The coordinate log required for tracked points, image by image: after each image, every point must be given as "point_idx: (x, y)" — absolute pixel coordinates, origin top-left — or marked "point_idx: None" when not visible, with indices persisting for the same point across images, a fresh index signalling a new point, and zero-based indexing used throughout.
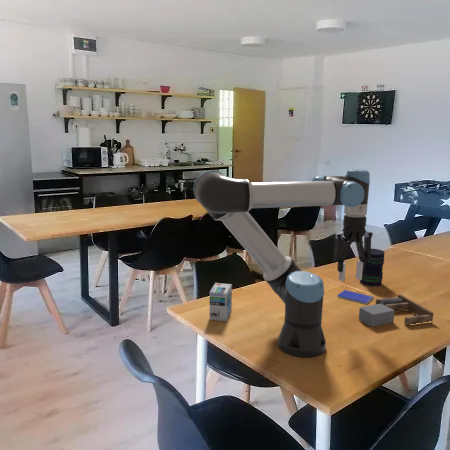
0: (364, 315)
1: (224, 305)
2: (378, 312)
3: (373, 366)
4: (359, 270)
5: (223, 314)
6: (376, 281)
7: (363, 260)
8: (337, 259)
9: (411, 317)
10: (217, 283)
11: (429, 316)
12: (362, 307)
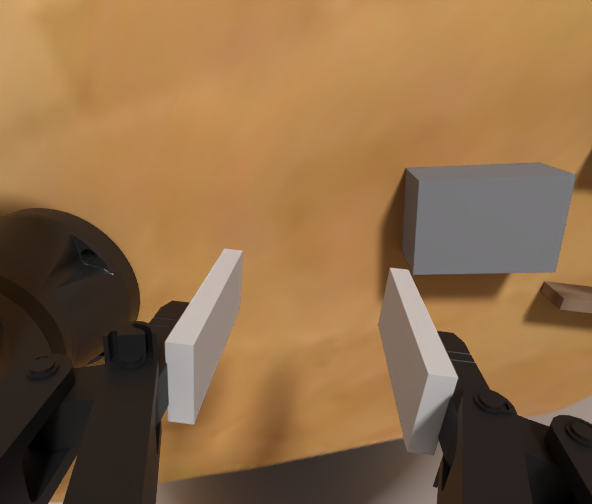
0: (410, 213)
1: None
2: (458, 264)
3: (220, 438)
4: (393, 360)
5: None
6: None
7: (446, 473)
8: (42, 456)
9: (588, 309)
10: None
11: None
12: (432, 186)
